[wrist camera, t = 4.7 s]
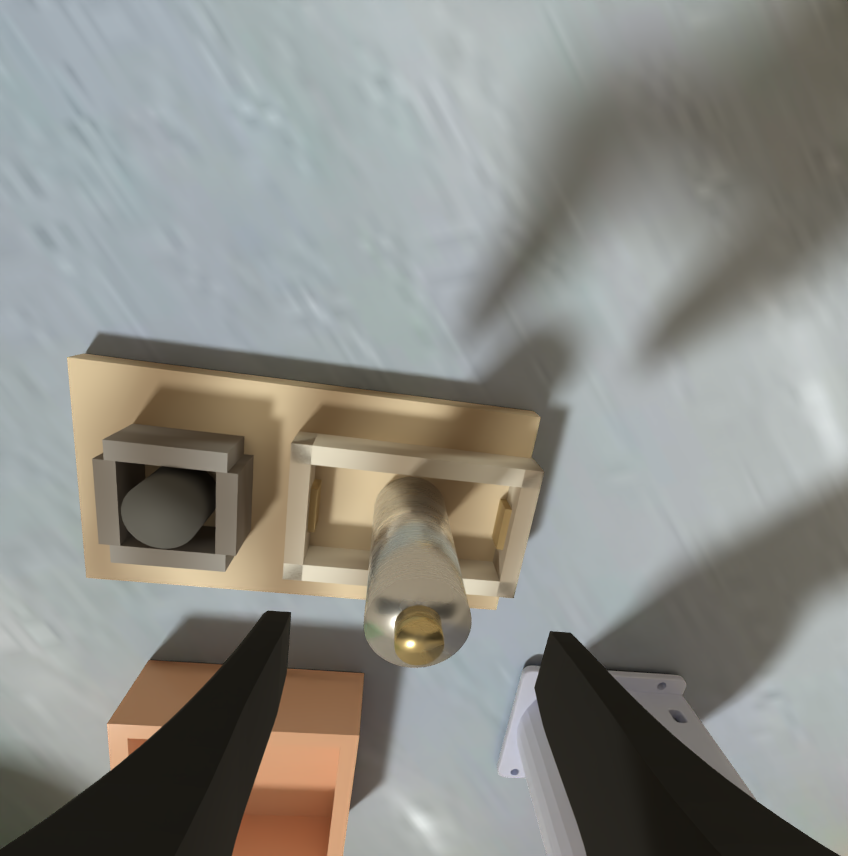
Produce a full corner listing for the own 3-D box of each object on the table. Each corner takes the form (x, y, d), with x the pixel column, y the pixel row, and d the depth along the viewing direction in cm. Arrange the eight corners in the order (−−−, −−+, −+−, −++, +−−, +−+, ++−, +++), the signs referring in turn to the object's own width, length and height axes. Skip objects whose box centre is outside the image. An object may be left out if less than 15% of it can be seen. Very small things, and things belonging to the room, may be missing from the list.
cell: (450, 481, 20) (485, 602, 12) (439, 543, 21) (465, 693, 13) (378, 473, 19) (368, 592, 12) (370, 537, 20) (356, 686, 13)
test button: (219, 465, 18) (199, 486, 16) (218, 525, 19) (199, 551, 17) (147, 457, 18) (119, 477, 16) (150, 518, 19) (122, 545, 17)
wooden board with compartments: (536, 411, 20) (559, 431, 17) (493, 596, 23) (507, 640, 20) (84, 353, 18) (26, 366, 15) (100, 564, 21) (54, 608, 18)
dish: (364, 673, 24) (359, 735, 21) (345, 815, 27) (338, 889, 24) (148, 659, 23) (107, 723, 19) (155, 810, 26) (120, 886, 23)
